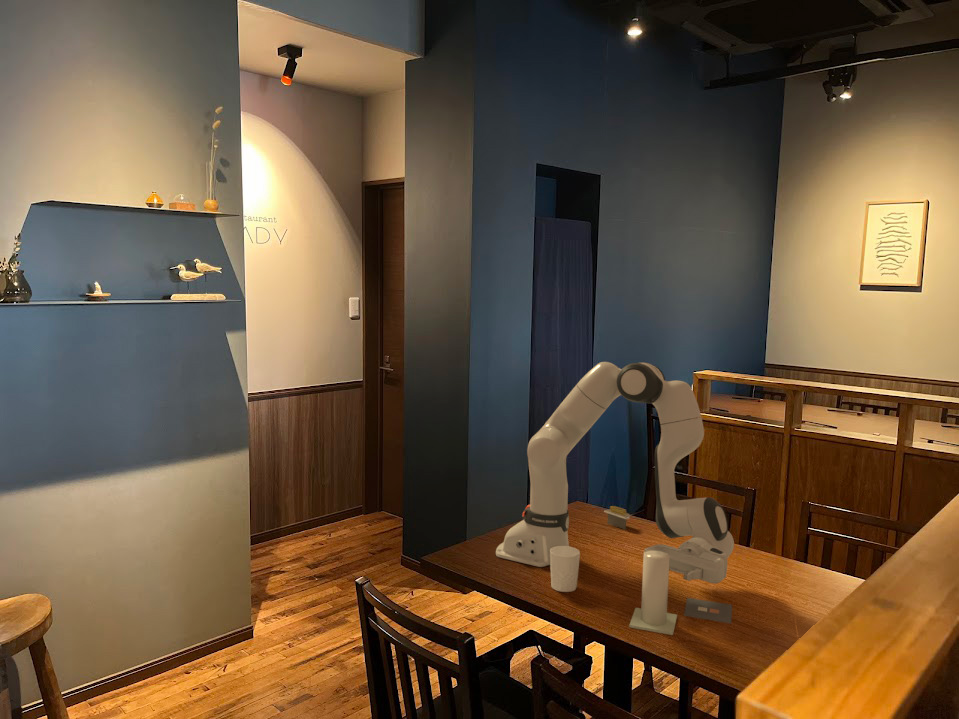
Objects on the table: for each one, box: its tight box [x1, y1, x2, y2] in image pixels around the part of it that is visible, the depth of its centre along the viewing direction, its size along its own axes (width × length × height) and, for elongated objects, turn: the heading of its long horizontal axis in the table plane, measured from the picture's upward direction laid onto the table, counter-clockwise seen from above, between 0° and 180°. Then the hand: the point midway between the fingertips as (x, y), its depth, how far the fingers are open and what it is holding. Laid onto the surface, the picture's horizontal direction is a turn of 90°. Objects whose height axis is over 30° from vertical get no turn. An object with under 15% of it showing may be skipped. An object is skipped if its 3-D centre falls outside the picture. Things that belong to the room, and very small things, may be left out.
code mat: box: [683, 597, 733, 624], centre depth 180 cm, size 11×11×1 cm
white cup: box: [549, 545, 581, 593], centre depth 192 cm, size 8×8×10 cm
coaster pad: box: [628, 607, 678, 636], centre depth 173 cm, size 10×10×1 cm
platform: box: [603, 505, 630, 531], centre depth 243 cm, size 12×18×7 cm, turn 38°
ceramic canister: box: [640, 551, 670, 625], centre depth 172 cm, size 6×6×16 cm
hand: (668, 571), depth 176 cm, fingers open, 8 cm apart
